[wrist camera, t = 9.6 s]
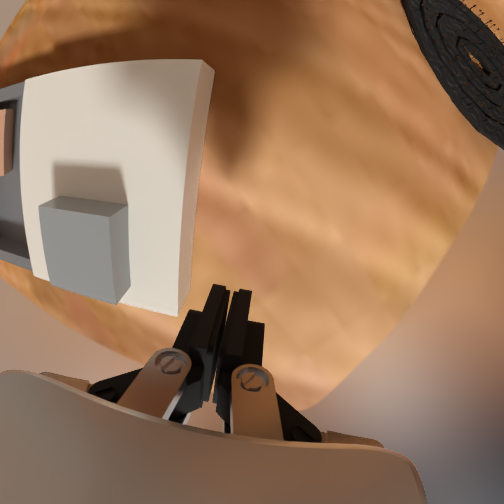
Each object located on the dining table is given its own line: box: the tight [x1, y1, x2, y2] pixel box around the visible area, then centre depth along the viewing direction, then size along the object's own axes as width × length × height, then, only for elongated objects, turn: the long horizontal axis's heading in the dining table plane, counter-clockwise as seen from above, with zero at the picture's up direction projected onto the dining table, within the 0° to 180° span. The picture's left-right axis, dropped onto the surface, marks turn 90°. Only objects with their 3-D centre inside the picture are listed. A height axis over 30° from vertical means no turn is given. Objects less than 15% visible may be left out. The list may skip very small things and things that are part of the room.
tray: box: [0, 81, 33, 271], centre depth 15 cm, size 14×8×2 cm, turn 171°
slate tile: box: [38, 196, 131, 305], centre depth 14 cm, size 5×5×2 cm
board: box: [20, 59, 215, 317], centre depth 15 cm, size 14×12×3 cm
